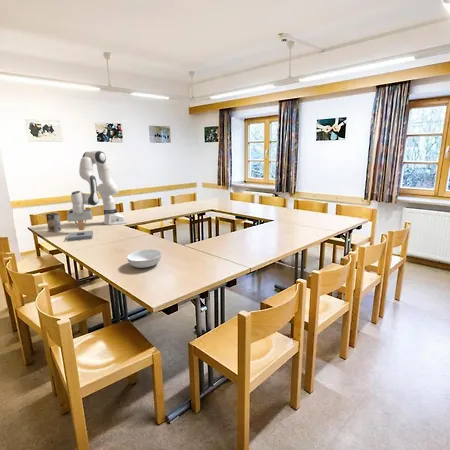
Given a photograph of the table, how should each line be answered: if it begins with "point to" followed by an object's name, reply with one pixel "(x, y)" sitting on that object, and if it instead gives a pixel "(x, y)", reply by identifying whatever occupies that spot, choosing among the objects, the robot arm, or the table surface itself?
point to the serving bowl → (144, 258)
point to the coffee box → (53, 222)
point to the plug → (81, 225)
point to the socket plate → (80, 235)
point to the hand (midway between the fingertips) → (81, 225)
